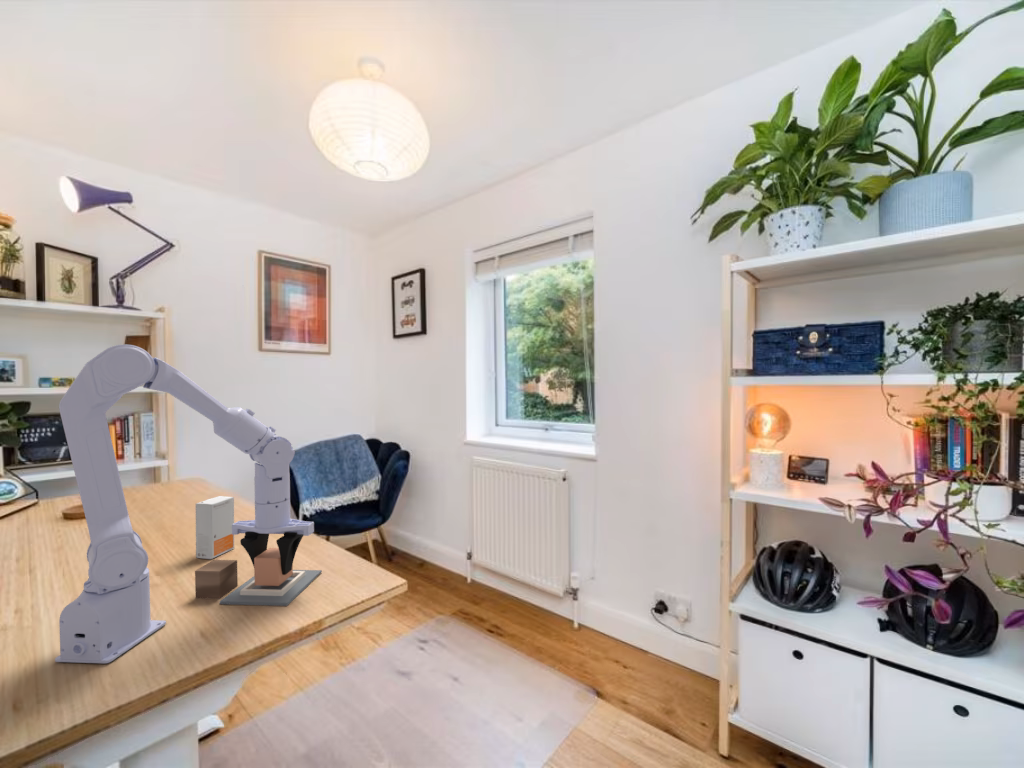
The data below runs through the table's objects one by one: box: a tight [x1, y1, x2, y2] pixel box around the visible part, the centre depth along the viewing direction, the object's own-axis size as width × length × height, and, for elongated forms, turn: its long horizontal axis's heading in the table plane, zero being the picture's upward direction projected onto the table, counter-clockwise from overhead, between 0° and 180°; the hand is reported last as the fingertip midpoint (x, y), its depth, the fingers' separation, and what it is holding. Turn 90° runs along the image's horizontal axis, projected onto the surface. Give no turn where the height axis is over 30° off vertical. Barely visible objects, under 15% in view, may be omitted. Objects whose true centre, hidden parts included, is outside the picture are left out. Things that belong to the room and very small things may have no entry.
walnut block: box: [194, 559, 239, 600], centre depth 78 cm, size 4×4×5 cm
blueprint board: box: [219, 569, 323, 607], centre depth 79 cm, size 12×12×1 cm
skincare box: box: [195, 495, 235, 560], centre depth 94 cm, size 6×4×12 cm
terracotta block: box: [253, 547, 294, 586], centre depth 79 cm, size 4×4×5 cm
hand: (274, 571), depth 79 cm, fingers closed on terracotta block, 4 cm apart
